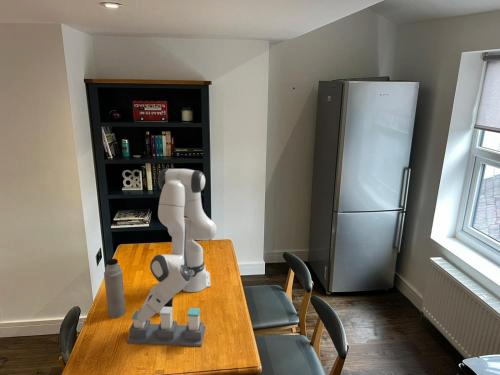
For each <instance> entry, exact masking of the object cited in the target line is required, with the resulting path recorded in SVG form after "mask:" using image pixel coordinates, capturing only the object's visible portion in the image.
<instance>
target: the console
mask: <svg viewBox="0 0 500 375" xmlns="http://www.w3.org/2000/svg"><path fill="white" fill-rule="evenodd" d="M177 323H178V321H177V320H173V325H172V328H171V330H167V329H161V321H160V322H159V323H151V319H148V320H147V321H146V325H145V327H144V328H134V323H133V322H132V323H131V325H130V327H129V329H128V330H129V336H128V337H127V339H126V343H127V344H141V345H143V344H144V345H160V346H161V345H162V346H183V347H184V346H185V347H202V344H203V342H204V335H205V332H206V328H207V327H206V325H204V322H203V321H200V326H199V330H198V331H189V320H188V321H187V323H186V324H177Z"/></svg>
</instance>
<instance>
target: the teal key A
mask: <svg viewBox="0 0 500 375" xmlns="http://www.w3.org/2000/svg"><path fill="white" fill-rule="evenodd" d="M138 311H139V310H134V312H133V315H132V318H131V319H132V321H133V322H132V323H134V328H144V327H145V325H146V321H145V322H143V323H142V322H140V321H139V320H138V319H137V313H138Z"/></svg>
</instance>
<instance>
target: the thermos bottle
mask: <svg viewBox="0 0 500 375" xmlns="http://www.w3.org/2000/svg"><path fill="white" fill-rule="evenodd" d="M105 264H106V266H105V268H104V272H103V277H104V288H105V297H106V298H105V299H106V307H107V316H108V317H109V318H112V319H119V318H121V317H123V316H124V315H125V314H126V313H127V312H126V310H127V309H126V300H125V288H124V276H123V275H124V274H123V269H122V268H121V265H120V264H119V262H118V259H117V258H110V259H107V261H106V263H105Z"/></svg>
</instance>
